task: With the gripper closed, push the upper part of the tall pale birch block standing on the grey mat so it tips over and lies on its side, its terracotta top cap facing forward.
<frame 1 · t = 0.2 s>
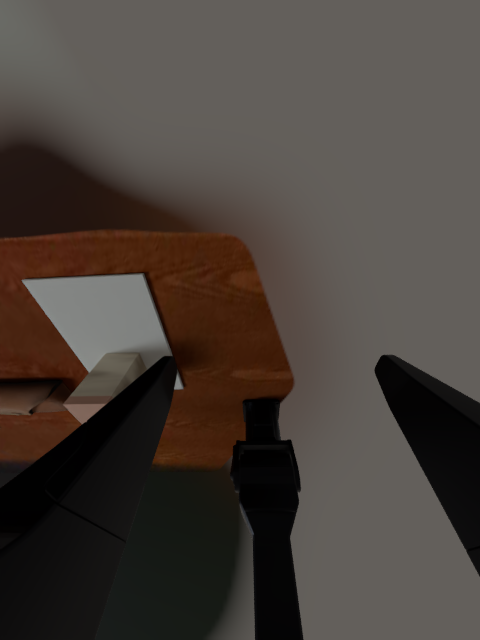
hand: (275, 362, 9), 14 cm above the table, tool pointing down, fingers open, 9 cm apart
grey mat: (119, 343, 27), on the table
sunglasses case: (29, 390, 35), on the table
birch block: (128, 365, 29), resting on grey mat
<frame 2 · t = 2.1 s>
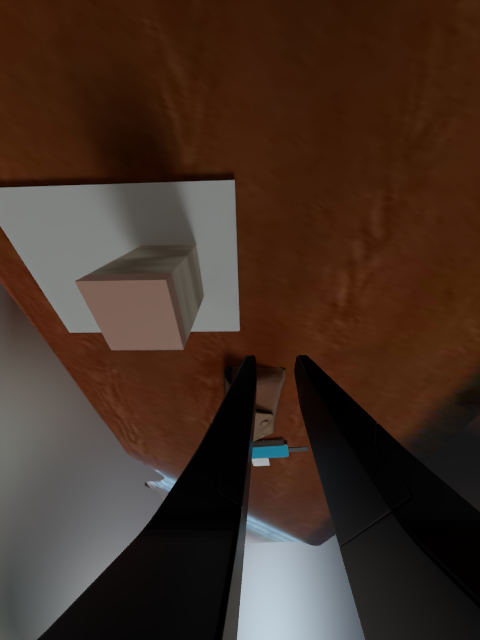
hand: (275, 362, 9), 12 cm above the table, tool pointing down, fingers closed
grey mat: (135, 272, 19), on the table
sunglasses case: (253, 401, 31), on the table
birch block: (174, 272, 18), resting on grey mat
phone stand: (257, 448, 41), on the table
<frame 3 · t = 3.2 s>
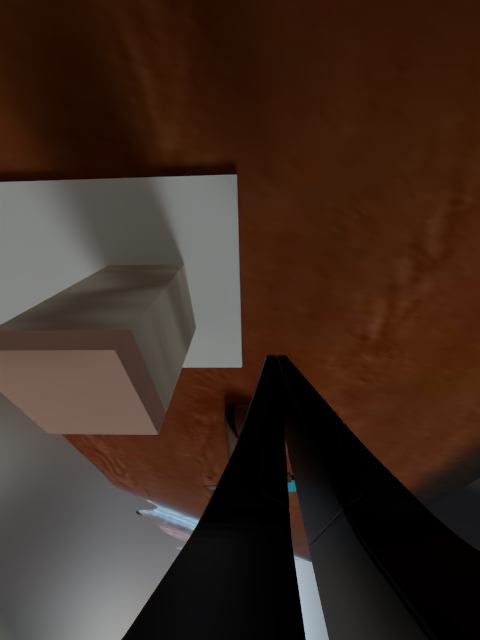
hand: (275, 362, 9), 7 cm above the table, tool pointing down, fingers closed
grey mat: (104, 297, 14), on the table
sunglasses case: (259, 437, 27), on the table
birch block: (156, 299, 14), resting on grey mat
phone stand: (261, 481, 36), on the table
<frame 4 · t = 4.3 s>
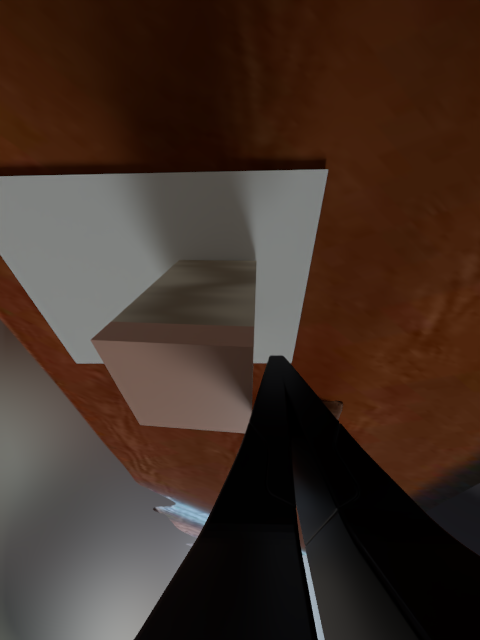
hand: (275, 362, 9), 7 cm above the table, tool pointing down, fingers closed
grey mat: (166, 292, 14), on the table
birch block: (220, 295, 14), point 1 cm above the table, touching grey mat, gripper
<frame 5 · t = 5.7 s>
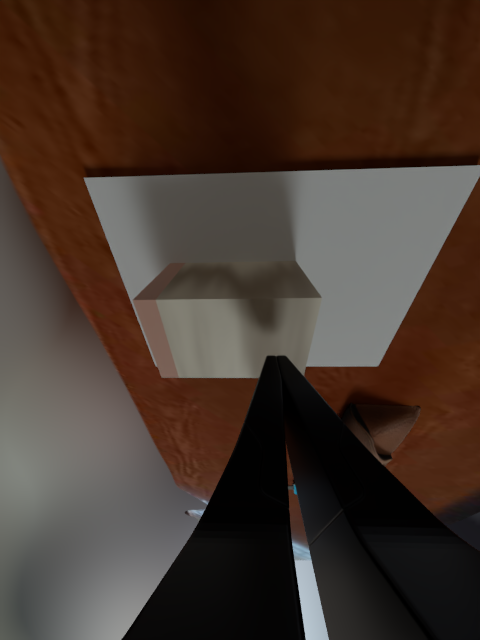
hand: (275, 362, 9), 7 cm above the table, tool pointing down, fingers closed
grey mat: (268, 294, 14), on the table
sunglasses case: (354, 437, 26), on the table
birch block: (299, 315, 11), point 3 cm above the table, tilted 90°, touching grey mat
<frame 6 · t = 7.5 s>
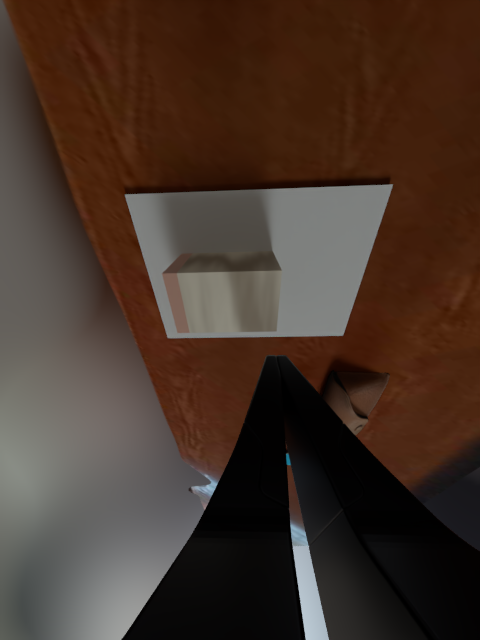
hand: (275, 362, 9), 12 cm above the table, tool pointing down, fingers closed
grey mat: (254, 277, 19), on the table
sunglasses case: (338, 405, 31), on the table
birch block: (274, 289, 16), point 3 cm above the table, tilted 90°, touching grey mat
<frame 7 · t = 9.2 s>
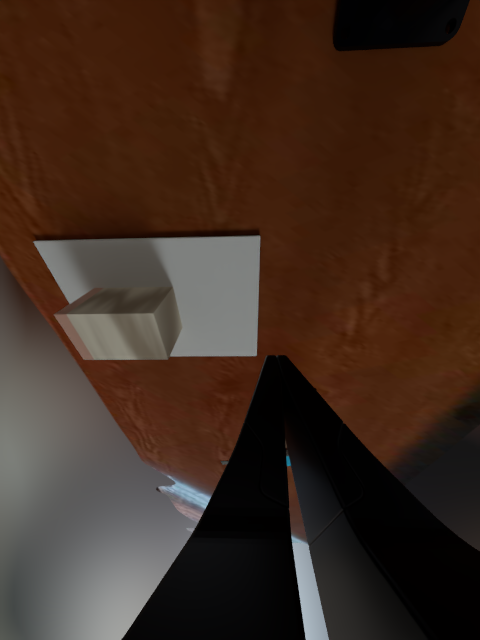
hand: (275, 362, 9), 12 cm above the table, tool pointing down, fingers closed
grey mat: (165, 306, 21), on the table
birch block: (170, 321, 19), point 3 cm above the table, tilted 90°, touching grey mat
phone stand: (266, 457, 43), on the table
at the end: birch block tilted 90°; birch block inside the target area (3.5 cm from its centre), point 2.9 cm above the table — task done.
